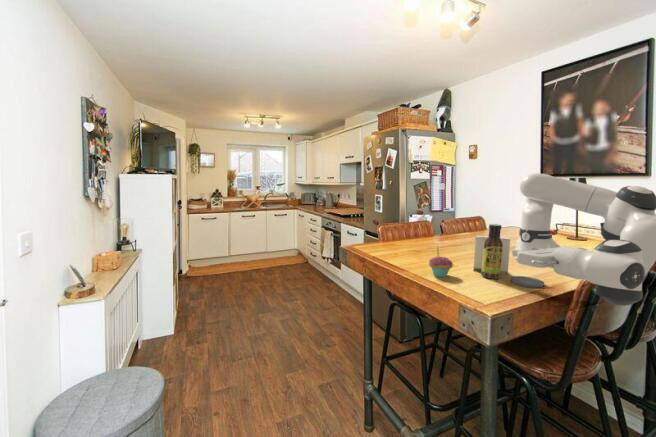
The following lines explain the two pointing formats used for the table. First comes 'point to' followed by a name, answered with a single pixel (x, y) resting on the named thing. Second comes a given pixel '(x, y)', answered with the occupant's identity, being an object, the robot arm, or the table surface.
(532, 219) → the robot arm
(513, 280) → the slate mat
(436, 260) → the cupcake
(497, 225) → the sauce bottle
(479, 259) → the letter plaque
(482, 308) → the table surface
